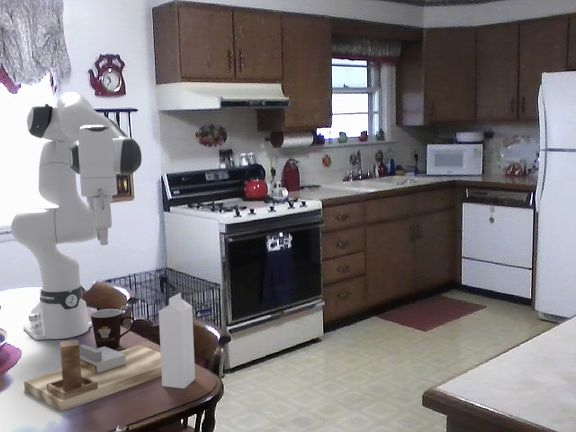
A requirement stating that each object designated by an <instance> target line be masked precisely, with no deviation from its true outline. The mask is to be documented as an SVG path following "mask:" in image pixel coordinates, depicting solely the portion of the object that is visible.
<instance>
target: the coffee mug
mask: <svg viewBox="0 0 576 432" xmlns="http://www.w3.org/2000/svg"><path fill="white" fill-rule="evenodd" d="M122 313H123V312H122V310H120V309H116V308H114V309H113V308H105V309H99V310H96V311H92V312H91V313H90V319H91V321H90V322H92V326H91V327H92V331H93V336H94V341H95V346H96V349H97V348H101V347H104V346H105V347H108V348H110V349H113V350H116V349H118V348H119V347H120V345H121V344H120V343H121V338H122V337H123V336H125V335H126V334H127V333H130V331H131V330H132V329H134V328H135V326H136V325H135V324H136V320H135V318H134V317H133V316H129V315H126V316H124V317H122ZM126 319H130V320H131V321H132V323H133V324H132V325H131V327H130V328H128V329H127V330H126V331H124V332H123V333H121V328H122V327H121V326H122V324H123V322H124V321H125V320H126Z"/></svg>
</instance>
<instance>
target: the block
mask: <svg viewBox="0 0 576 432" xmlns="http://www.w3.org/2000/svg"><path fill="white" fill-rule="evenodd" d="M79 341H80V340H79V339H75V340H73V339H72V340H65V341H60V342H59V349H60V361H61V369H62V379H63V391H65V392H67V391H70V390H73V389H76V388H79V387H82V380H81V365H80V349H79V346H80V342H79Z"/></svg>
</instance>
